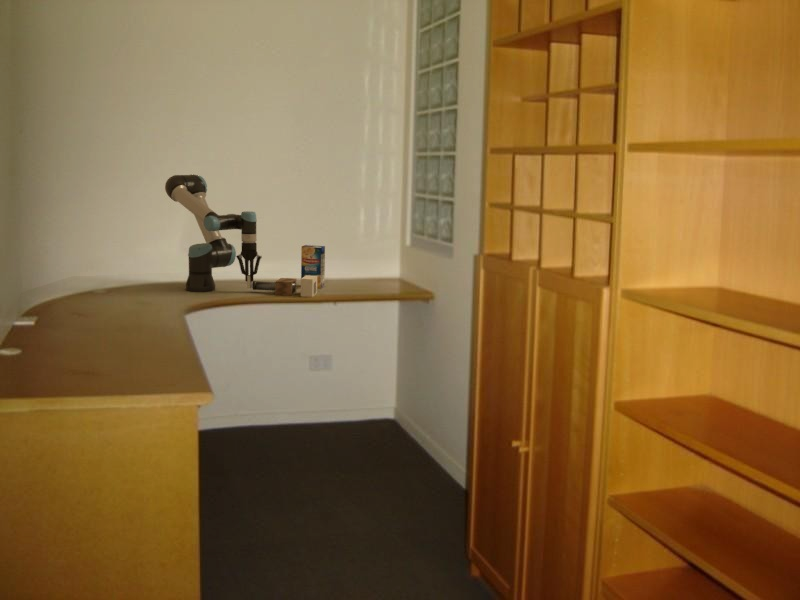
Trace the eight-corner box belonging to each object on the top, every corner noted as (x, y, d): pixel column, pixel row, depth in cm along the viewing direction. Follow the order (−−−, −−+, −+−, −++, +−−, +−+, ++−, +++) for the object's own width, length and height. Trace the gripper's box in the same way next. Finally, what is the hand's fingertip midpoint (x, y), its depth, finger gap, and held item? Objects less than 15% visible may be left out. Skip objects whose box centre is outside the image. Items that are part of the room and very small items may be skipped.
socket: (300, 296, 460) (300, 278, 458) (305, 292, 472) (305, 275, 470) (312, 297, 459) (312, 279, 458) (317, 293, 471) (317, 275, 470)
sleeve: (275, 295, 461) (275, 281, 460) (281, 291, 473) (281, 278, 472) (290, 295, 461) (291, 282, 459) (296, 292, 472) (296, 278, 471)
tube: (252, 290, 466) (252, 281, 465) (254, 289, 471) (254, 280, 470) (294, 292, 464) (294, 283, 463) (296, 290, 468) (296, 282, 468)
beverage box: (320, 288, 485) (321, 247, 481) (300, 287, 487) (301, 246, 483) (324, 286, 491) (325, 246, 488) (305, 285, 494) (305, 245, 490)
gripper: (234, 242, 461) (234, 288, 465) (259, 243, 460) (259, 289, 464) (238, 240, 469) (239, 286, 473) (263, 241, 467) (263, 287, 471)
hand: (249, 287), depth 468 cm, fingers closed
